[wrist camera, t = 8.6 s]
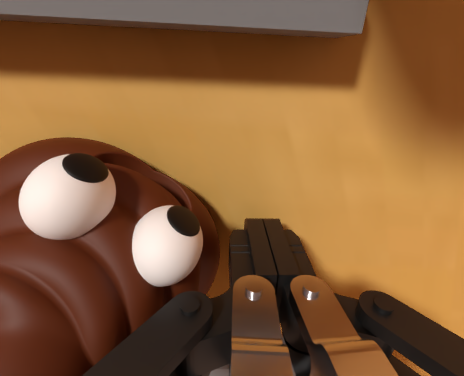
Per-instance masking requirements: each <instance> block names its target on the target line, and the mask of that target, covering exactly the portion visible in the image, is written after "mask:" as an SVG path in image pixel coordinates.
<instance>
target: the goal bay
mask: <svg viewBox="0 0 464 376" xmlns="http://www.w3.org/2000/svg"><path fill="white" fill-rule="evenodd" d="M368 2H369V0H0V20H7V21H26V22H45V23H63V24H82V25H101V26H120V27H138V28H157V29H176V30H195V31H213V32H232V33H251V34H270V35H288V36H307V37H326V38H339V37H344V36H350V35H356V34H362V30H363V25H364V21H365V16H366V11H367V7H368ZM281 336H282V334H281ZM209 376H229V364H228V365H225V366H223V367H220V368H218V369H215V370H213V371H211V372H210V375H209Z"/></svg>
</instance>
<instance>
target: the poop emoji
mask: <svg viewBox="0 0 464 376" xmlns="http://www.w3.org/2000/svg"><path fill="white" fill-rule="evenodd" d="M219 258H220V245H219V238H218V233H217V230H216V227H215V224H214V222H213V219H212V217H211V215H210V214H209V212H208V210H207V209H206V207H205V206H204V205H203V203H202V202H201V201H200V200H199V199H198V198H197V197H196V196H195V195H194V194H193V193H192V192H191V191H190V190H189V189H187V188H186V187H185V186H184V185H182V184H181V183H179V182H178V181H176V180H174V179H173V178H171V177H169V176H167V175H165V174H163V173H160V172H158V171H155V170H153V169H152V168H151V167H149V166H148V165H147V164H146V163H144V162H143V161H141V160H140V159H138V158H137V157H135V156H133V155H132V154H130V153H128V152H126V151H124V150H122V149H119V148H117V147H115V146H112V145H109V144H106V143H103V142H99V141H94V140H89V139H82V138H53V139H46V140H41V141H37V142H33V143H30V144H27V145H25V146H22V147H20V148H18V149H16V150H14V151H12V152H10V153H9V154H7V155H5V156H4V157H2V158H1V159H0V376H82V375H83V374H85V373H86V372H87V371H88V370H89V369H90V368H92V367H93V366H94V365H95V364H96V363H98V362H99V361H100V360H101V359H102V358H103V357H105V356H106V355H107V354H108V353H109V352H110V351H112V350H113V349H114V348H115V347H116V346H117V345H119V344H120V343H121V342H122V341H123V340H125V339H126V338H127V337H128V336H129V335H130V334H132V333H133V332H134V331H135V330H136V329H137V328H139V327H140V326H141V325H142V324H143V323H144V322H146V321H147V320H148V319H149V318H150V317H152V316H153V315H154V314H155V313H156V312H157V311H159V310H160V309H161V308H162V307H163V306H164V305H166V304H167V303H168V302H169V301H170V300H171V299H173V298H174V297H175V296H177V295H178V294H180V293H183V292H187V291H197V292H201V293H203V294H205V295H206V293H207V292H208V290H209V289H210V287H211V285H212V283H213V281H214V279H215V276H216V273H217V269H218V265H219Z"/></svg>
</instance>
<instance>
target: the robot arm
mask: <svg viewBox="0 0 464 376" xmlns="http://www.w3.org/2000/svg"><path fill="white" fill-rule="evenodd" d="M229 280H230V288H229V290H228V291H227V292H225V293H224V294H222V295H220V296H217V297H214V298H211V299H209V297H208V296H206V295H205V294H203V293H201V292H197V291H187V292H183V293H180V294H178V295H177V296H175V297H174V298H173V299H171V300H170V301H169V302H168V303H167V304H166V305H164V306H163V307H162V308H161V309H160V310H159V311H157V312H156V313H155V314H154V315H153V316H152V317H150V318H149V319H148V320H147V321H146V322H144V323H143V324H142V325H141V326H140V327H139V328H137V329H136V330H135V331H134V332H133V333H132V334H130V335H129V336H128V337H127V338H126V339H125V340H123V341H122V342H121V343H120V344H119V345H117V346H116V347H115V348H114V349H113V350H112V351H110V352H109V353H108V354H107V355H106V356H105V357H103V358H102V359H101V360H100V361H99V362H98V363H96V364H95V365H94V366H93V367H92V368H90V369H89V370H88V371H87V372H86V373H85V374H83V375H82V376H209V375H210V372H211V371H213V370H215V369H218V368H220V367H223V366H225V365H228V364H229V376H421V375H419V374H418V373H416V372H415V371H414V370H412V369H411V368H409V367H408V366H407V365H405V364H404V363H403V362H401V361H400V360H398V359H397V358H396V357H394V356H393V355H392V353H393V351H394V349H395V350H396V351H398V352H399V353H400V354H402V355H403V356H405V357H406V358H408V359H409V360H410V361H412V362H413V363H415V364H416V365H417V366H419V367H420V368H422V369H423V370H425V371H426V372H427V373H429V374H430V375H432V376H464V339H463V338H461V337H459V336H458V335H456V334H454V333H453V332H451V331H449V330H448V329H446V328H444V327H442V326H441V325H439V324H437V323H436V322H434V321H432V320H431V319H429V318H427V317H425V316H424V315H422V314H420V313H419V312H417V311H415V310H414V309H412V308H410V307H408V306H407V305H405V304H403V303H402V302H400V301H398V300H397V299H395V298H393V297H391V296H390V295H388V294H385V293H383V292H379V291H365V292H363V293H362V294H361V295H360V297H359V300H357V299H353V298H349V297H345V296H341V295H338V294H336V293H333V291H332V290H331V288H330V287H329V285H328V284H327V283H326V282H325V281H323V280H322V279H320V278H318V277H317V276H316V274H315V272H314V270H313V268H312V265H311V263H310V261H309V259H308V256H307V254H306V253H305V250H304V248H303V247H302V243H301V241H300V239H299V237H298V236H297V235H296V234H295V233H294V232H293V231H291V230H283V227H282V225H281V222H280V220H279V219H245V224H244V230H233V232H232V234H231V235H230V243H229ZM280 323H281V328H282V336H281V329H280Z"/></svg>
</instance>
